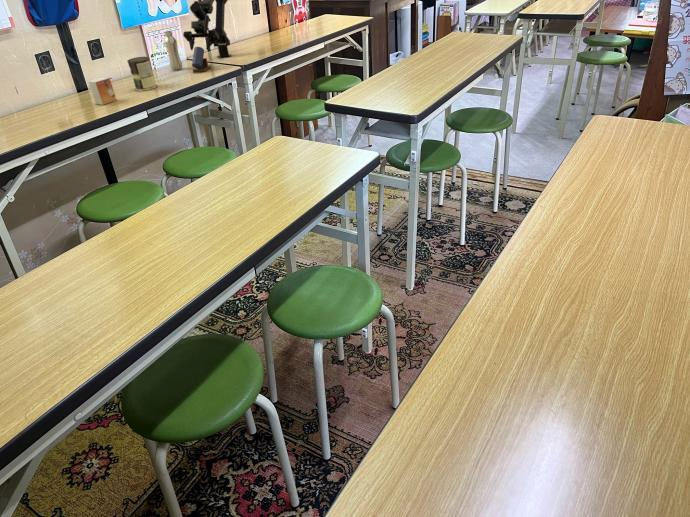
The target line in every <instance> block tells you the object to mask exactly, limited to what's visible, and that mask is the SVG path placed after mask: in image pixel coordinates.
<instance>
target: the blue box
mask: <svg viewBox="0 0 690 517" xmlns="http://www.w3.org/2000/svg"><path fill="white" fill-rule="evenodd" d="M192 56H193V57H192V60H191V67H193V69H194V68H196V69H201V68H202V63H203V58H204V56H205V49H204V48H203V47H202V46H195V47H193V55H192Z"/></svg>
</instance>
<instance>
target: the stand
mask: <svg viewBox="0 0 690 517" xmlns="http://www.w3.org/2000/svg"><path fill="white" fill-rule="evenodd" d="M210 69H212V65H211V64H209V62H208V58H207V57H203V63H202V68H201V69H196V68H194V67H193V69H192V73H206V72H208V71H209V70H210Z"/></svg>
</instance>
